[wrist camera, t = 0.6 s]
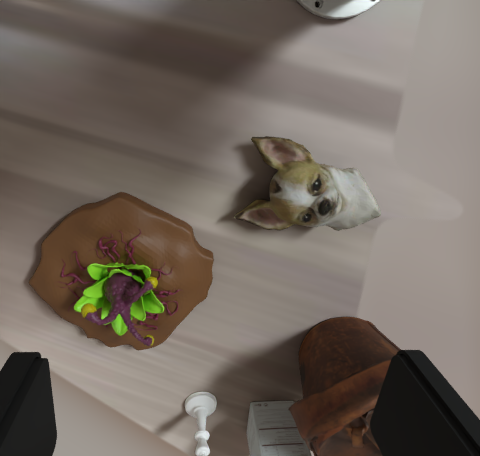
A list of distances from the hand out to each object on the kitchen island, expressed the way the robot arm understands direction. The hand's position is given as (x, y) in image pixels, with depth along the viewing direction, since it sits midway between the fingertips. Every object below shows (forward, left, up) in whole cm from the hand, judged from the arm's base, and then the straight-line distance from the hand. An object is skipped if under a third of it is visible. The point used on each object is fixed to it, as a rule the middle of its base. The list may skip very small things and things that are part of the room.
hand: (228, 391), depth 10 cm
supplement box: (+37, +26, -34) cm, 57 cm away
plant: (+18, -3, -35) cm, 39 cm away
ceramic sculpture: (0, +13, -34) cm, 37 cm away
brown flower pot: (+21, +30, -34) cm, 50 cm away
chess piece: (+37, +14, -34) cm, 52 cm away
